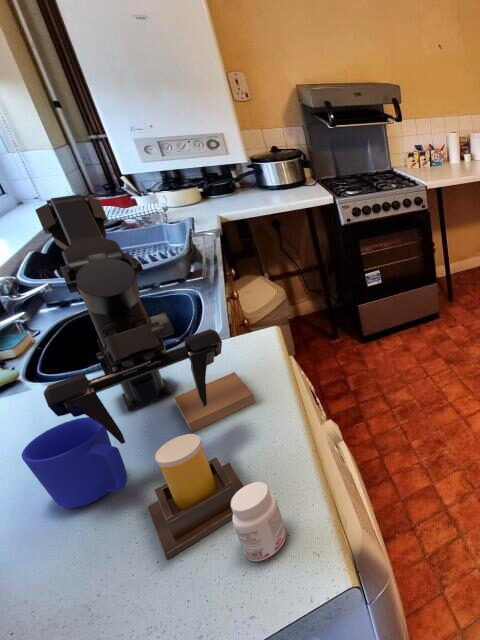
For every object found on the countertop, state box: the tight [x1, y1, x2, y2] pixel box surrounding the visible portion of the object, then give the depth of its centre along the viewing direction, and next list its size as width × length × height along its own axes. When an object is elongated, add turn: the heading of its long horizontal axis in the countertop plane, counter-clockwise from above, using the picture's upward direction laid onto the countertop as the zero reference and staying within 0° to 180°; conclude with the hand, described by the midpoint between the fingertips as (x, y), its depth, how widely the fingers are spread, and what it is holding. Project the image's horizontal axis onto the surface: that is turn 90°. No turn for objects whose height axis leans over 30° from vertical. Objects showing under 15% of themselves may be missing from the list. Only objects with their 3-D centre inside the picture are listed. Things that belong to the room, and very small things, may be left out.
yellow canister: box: [154, 433, 218, 511], centre depth 58 cm, size 5×5×9 cm
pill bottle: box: [231, 481, 287, 562], centre depth 54 cm, size 5×5×8 cm
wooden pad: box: [173, 371, 256, 433], centre depth 80 cm, size 10×10×2 cm
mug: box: [21, 416, 128, 509], centre depth 61 cm, size 8×12×10 cm
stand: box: [147, 456, 245, 561], centre depth 60 cm, size 10×10×4 cm
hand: (166, 423), depth 59 cm, fingers open, 9 cm apart
